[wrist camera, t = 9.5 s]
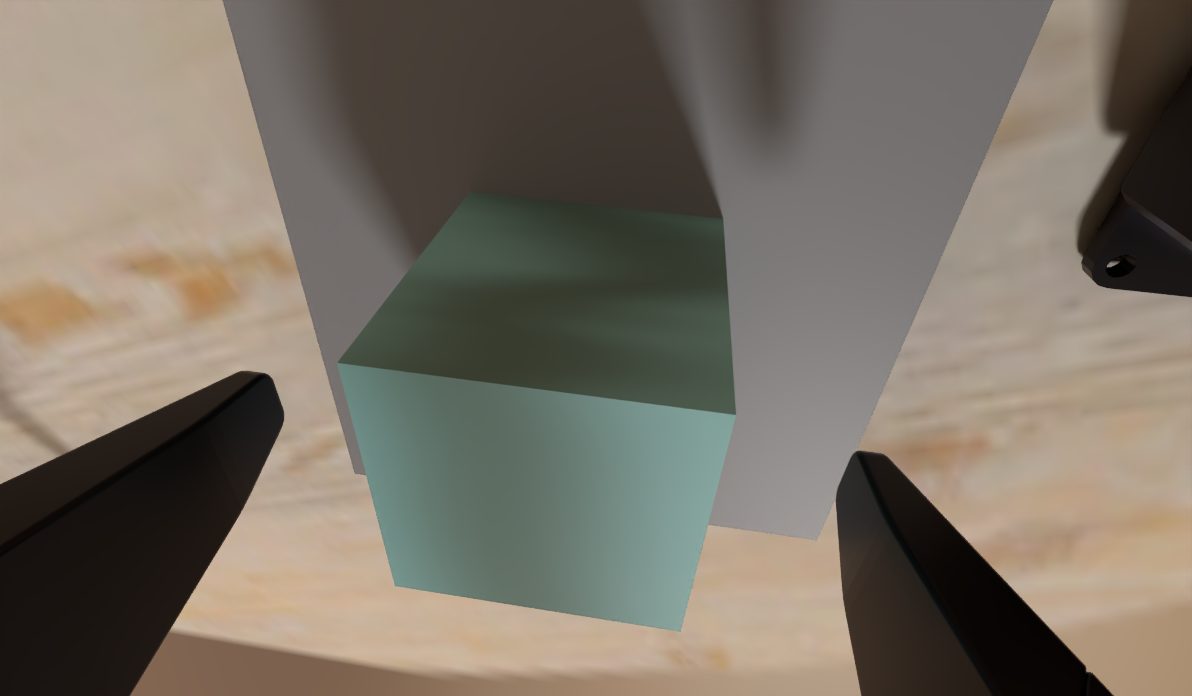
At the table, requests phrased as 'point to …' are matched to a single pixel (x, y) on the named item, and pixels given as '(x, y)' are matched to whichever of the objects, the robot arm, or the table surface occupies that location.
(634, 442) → the teal block
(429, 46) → the plinth
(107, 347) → the table surface
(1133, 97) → the table surface
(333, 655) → the table surface
